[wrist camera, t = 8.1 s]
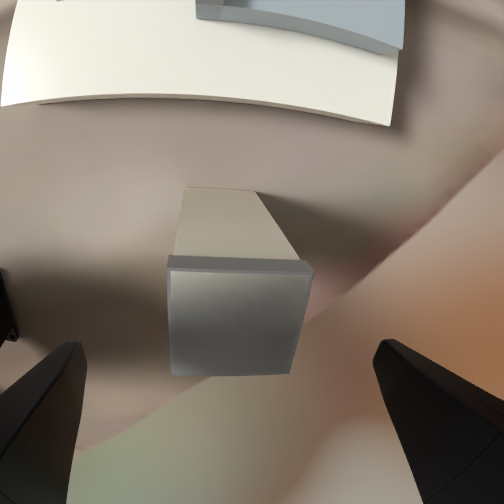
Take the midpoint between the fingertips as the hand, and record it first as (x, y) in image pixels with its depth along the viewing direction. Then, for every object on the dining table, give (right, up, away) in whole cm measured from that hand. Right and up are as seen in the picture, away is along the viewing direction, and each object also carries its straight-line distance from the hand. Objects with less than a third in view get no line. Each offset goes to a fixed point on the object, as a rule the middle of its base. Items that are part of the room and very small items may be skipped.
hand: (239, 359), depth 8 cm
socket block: (-2, +18, +4) cm, 19 cm away
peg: (-2, +5, +10) cm, 11 cm away
